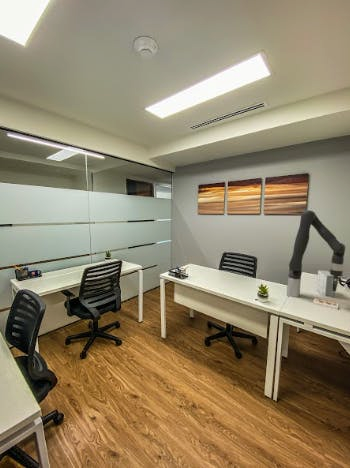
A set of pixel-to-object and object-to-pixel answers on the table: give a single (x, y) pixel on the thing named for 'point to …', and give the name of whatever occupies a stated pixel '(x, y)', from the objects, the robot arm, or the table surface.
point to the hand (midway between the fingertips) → (334, 289)
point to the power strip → (325, 304)
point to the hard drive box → (325, 284)
